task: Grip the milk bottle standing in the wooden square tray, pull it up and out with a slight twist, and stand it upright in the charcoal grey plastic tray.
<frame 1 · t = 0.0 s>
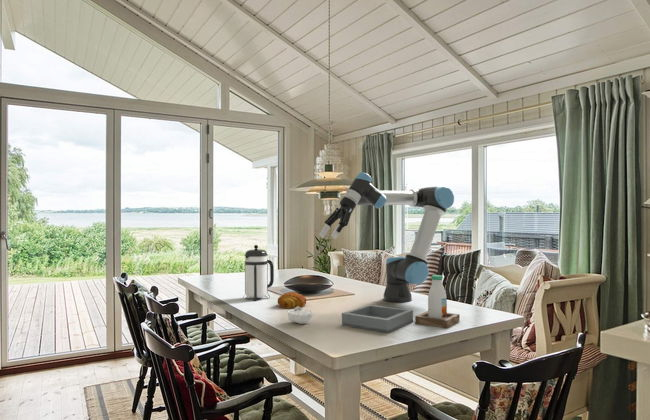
hand: (326, 237, 212), 36 cm above the table, tool tilted 35°, fingers open, 13 cm apart
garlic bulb: (300, 323, 194), on the table
milk bottle: (437, 322, 192), resting in wooden square tray
charcoal tray: (377, 323, 191), on the table
wooden square tray: (437, 322, 192), on the table
coffee press: (257, 298, 252), on the table
croissant: (292, 306, 230), on the table
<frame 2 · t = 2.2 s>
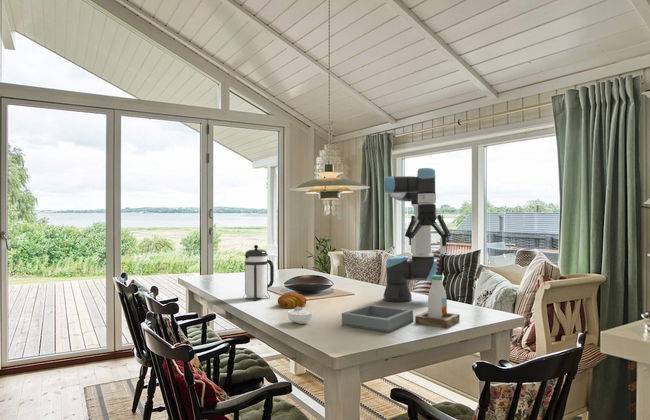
hand: (427, 253, 192), 29 cm above the table, tool pointing down, fingers open, 13 cm apart
nothing on the table moved.
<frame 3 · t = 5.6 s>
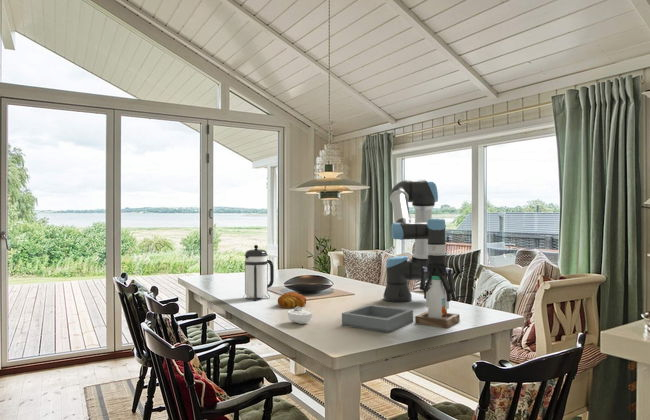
hand: (437, 307, 192), 6 cm above the table, tool pointing down, fingers closed on milk bottle, 8 cm apart
milk bottle: (437, 322, 192), resting in wooden square tray, touching gripper
everything else where it was.
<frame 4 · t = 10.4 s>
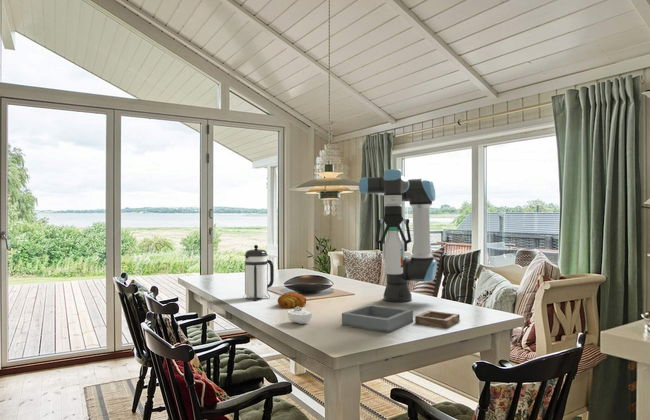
hand: (393, 259, 191), 27 cm above the table, tool pointing down, fingers closed on milk bottle, 8 cm apart
milk bottle: (393, 274, 191), point 21 cm above the table, touching gripper
everything else where it was.
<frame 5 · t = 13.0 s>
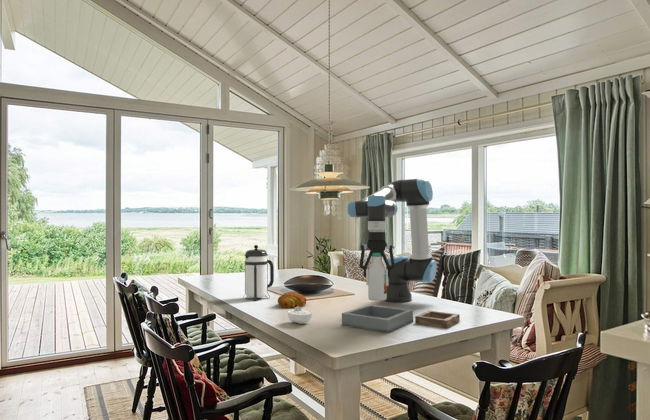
hand: (377, 284, 191), 16 cm above the table, tool pointing down, fingers closed on milk bottle, 8 cm apart
milk bottle: (377, 299, 191), point 10 cm above the table, touching gripper
everything else where it was.
when the fingers open (9 cm above the table, at t = 15.3 s): milk bottle drops 1 cm, resting on charcoal tray.
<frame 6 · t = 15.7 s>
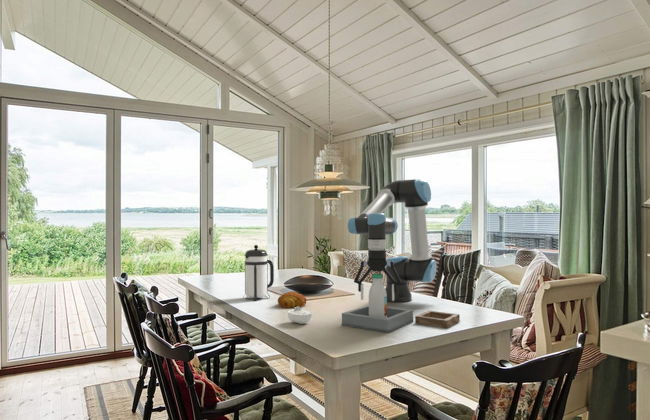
hand: (377, 299, 191), 10 cm above the table, tool pointing down, fingers open, 12 cm apart
milk bottle: (377, 321, 191), point 1 cm above the table, touching charcoal tray
everything else where it was.
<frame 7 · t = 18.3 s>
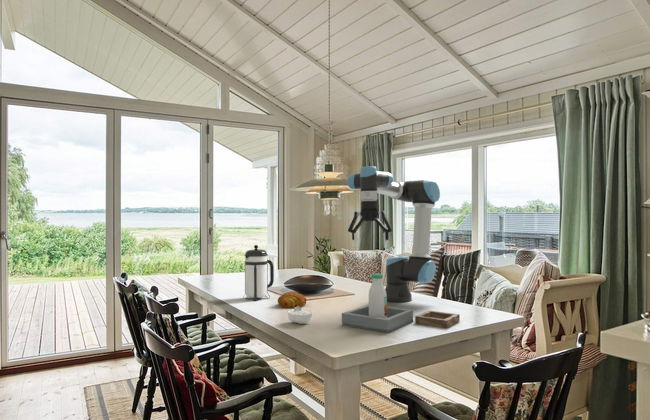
hand: (370, 247, 204), 31 cm above the table, tool pointing down, fingers open, 13 cm apart
nothing on the table moved.
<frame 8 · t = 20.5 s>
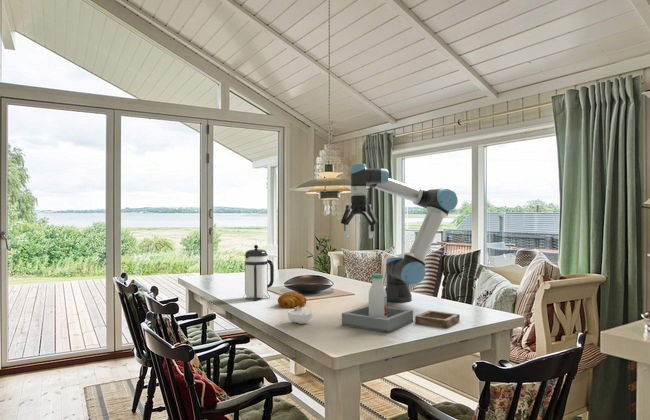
hand: (359, 238, 223), 35 cm above the table, tool pointing down, fingers open, 13 cm apart
at the end: milk bottle inside the target area on the charcoal tray (0.0 cm from its centre), point 0.8 cm above the charcoal tray's base; milk bottle tilted 0°; the gripper is holding nothing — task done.
